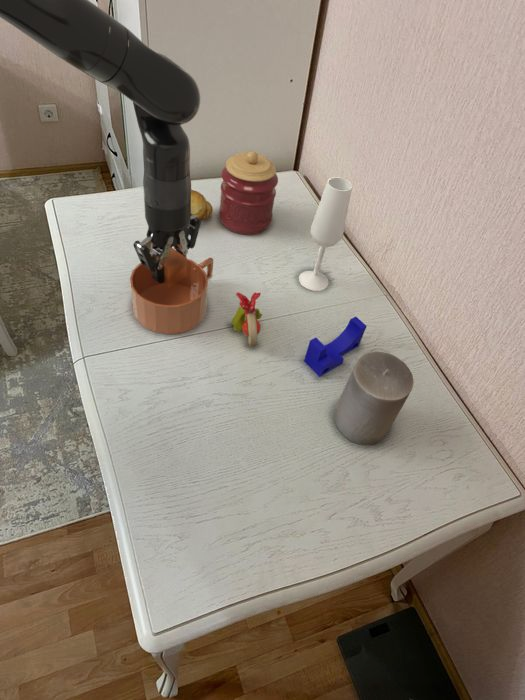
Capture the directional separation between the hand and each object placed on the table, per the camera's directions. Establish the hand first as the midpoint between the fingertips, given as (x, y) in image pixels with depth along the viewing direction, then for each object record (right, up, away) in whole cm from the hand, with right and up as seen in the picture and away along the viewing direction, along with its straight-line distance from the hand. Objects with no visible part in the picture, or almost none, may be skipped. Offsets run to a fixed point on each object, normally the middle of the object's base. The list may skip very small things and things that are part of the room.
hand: (169, 274), depth 94 cm
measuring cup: (0, -4, +8) cm, 9 cm away
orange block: (0, 0, 0) cm, 0 cm away
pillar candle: (+35, -27, -5) cm, 44 cm away
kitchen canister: (+13, +18, +29) cm, 37 cm away
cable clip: (+31, -16, +4) cm, 35 cm away
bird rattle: (+15, -11, +5) cm, 19 cm away
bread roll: (-1, +17, +26) cm, 31 cm away
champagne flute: (+29, +1, +18) cm, 34 cm away
